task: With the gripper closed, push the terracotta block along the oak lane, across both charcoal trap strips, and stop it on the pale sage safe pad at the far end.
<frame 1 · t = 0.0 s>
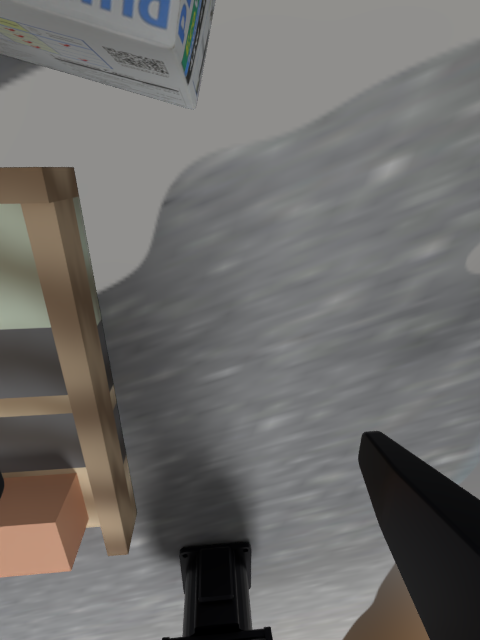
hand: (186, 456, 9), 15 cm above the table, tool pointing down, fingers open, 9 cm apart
terracotta block: (43, 499, 27), point 1 cm above the table, touching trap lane
light bulb box: (100, 6, 17), on the table
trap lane: (15, 383, 24), on the table
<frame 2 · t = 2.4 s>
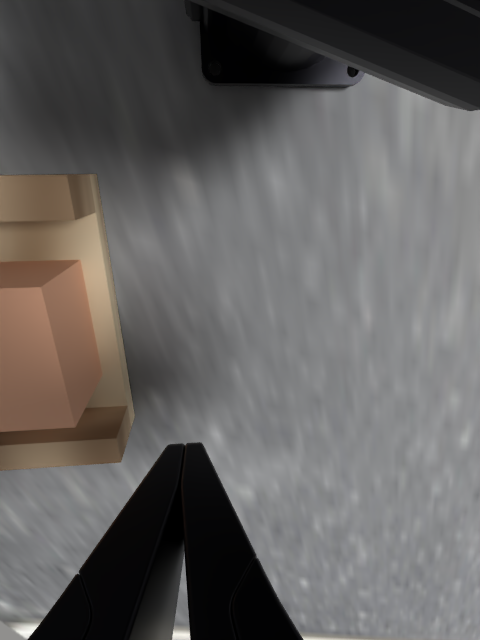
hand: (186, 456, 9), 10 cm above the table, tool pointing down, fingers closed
terracotta block: (38, 323, 17), point 1 cm above the table, touching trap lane
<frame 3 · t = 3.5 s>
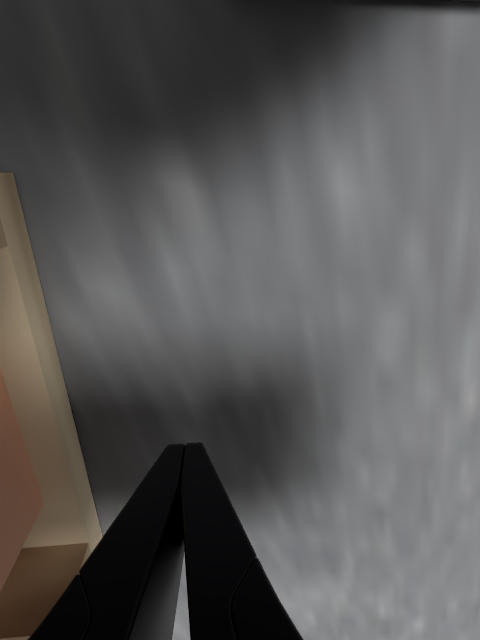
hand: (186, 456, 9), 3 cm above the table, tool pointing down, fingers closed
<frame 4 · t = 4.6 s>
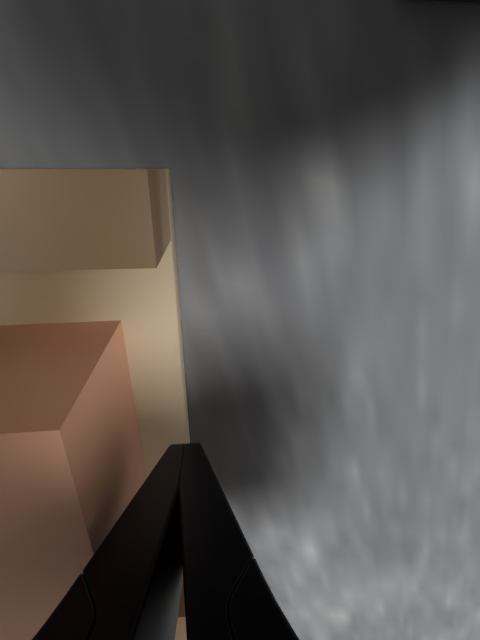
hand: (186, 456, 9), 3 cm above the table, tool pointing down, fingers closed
terracotta block: (45, 422, 10), point 1 cm above the table, touching gripper
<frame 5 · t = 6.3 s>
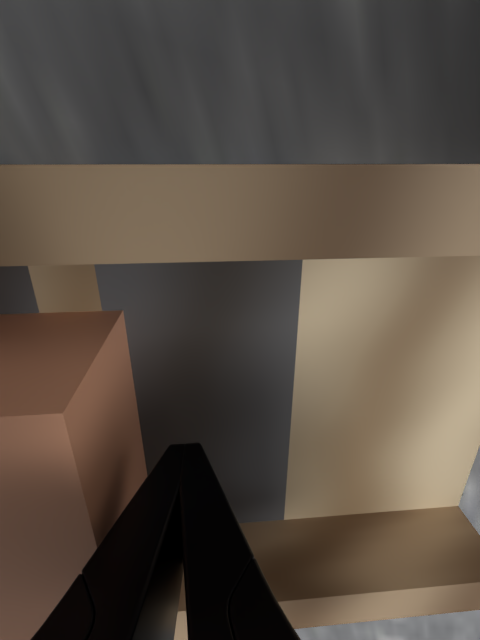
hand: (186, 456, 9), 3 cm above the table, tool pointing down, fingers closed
terracotta block: (46, 412, 10), point 1 cm above the table, touching gripper, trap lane
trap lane: (61, 396, 11), on the table
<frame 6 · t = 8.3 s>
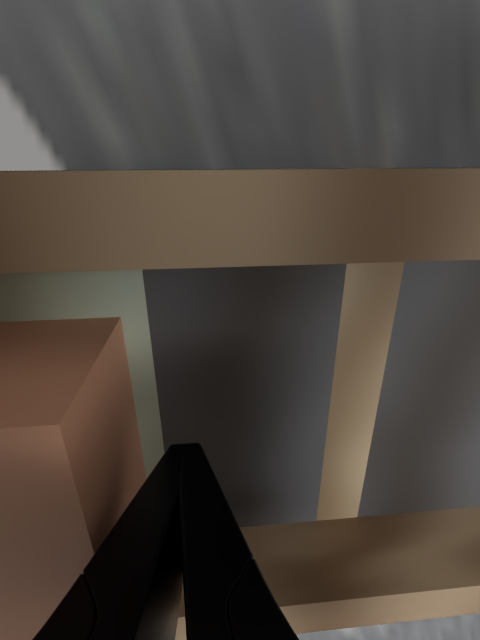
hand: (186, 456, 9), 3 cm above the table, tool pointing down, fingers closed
terracotta block: (44, 419, 10), point 1 cm above the table, touching gripper, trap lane
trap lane: (304, 387, 11), on the table
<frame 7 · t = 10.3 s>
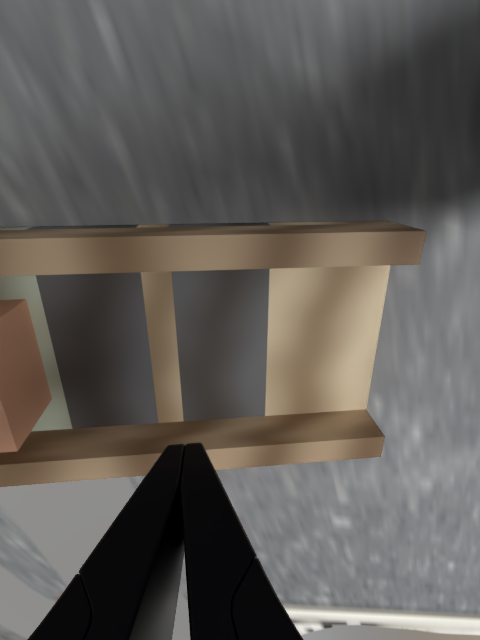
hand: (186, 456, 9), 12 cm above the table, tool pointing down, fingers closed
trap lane: (143, 341, 20), on the table
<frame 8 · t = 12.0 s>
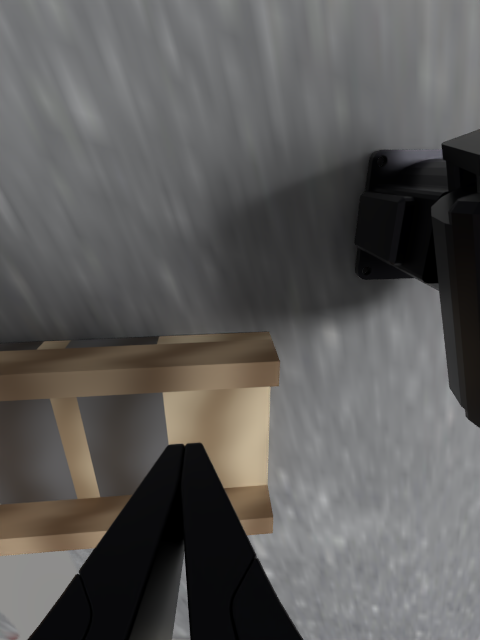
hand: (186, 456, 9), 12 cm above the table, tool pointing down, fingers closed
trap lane: (59, 431, 23), on the table
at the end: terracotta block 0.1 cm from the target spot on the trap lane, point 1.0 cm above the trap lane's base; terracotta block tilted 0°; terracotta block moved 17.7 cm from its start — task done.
